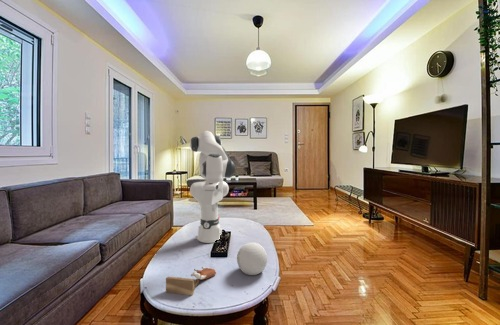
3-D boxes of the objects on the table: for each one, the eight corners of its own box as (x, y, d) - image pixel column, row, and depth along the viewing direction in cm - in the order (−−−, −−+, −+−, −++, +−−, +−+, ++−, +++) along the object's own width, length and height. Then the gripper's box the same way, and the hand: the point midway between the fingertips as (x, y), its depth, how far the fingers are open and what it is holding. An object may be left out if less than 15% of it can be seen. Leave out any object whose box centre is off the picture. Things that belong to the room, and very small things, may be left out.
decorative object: (243, 264, 127) (244, 236, 127) (270, 269, 122) (271, 240, 121) (231, 277, 113) (231, 246, 113) (261, 283, 108) (261, 250, 107)
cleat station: (176, 280, 109) (176, 268, 109) (201, 283, 107) (201, 270, 107) (165, 292, 100) (165, 278, 100) (192, 295, 98) (192, 280, 98)
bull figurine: (186, 267, 109) (196, 272, 104) (208, 265, 119) (219, 270, 114) (184, 277, 109) (194, 283, 103) (207, 274, 118) (217, 279, 113)
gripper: (215, 182, 135) (214, 207, 135) (201, 186, 115) (201, 215, 115) (225, 183, 134) (225, 207, 134) (214, 187, 114) (213, 215, 114)
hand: (214, 211), depth 125 cm, fingers closed
